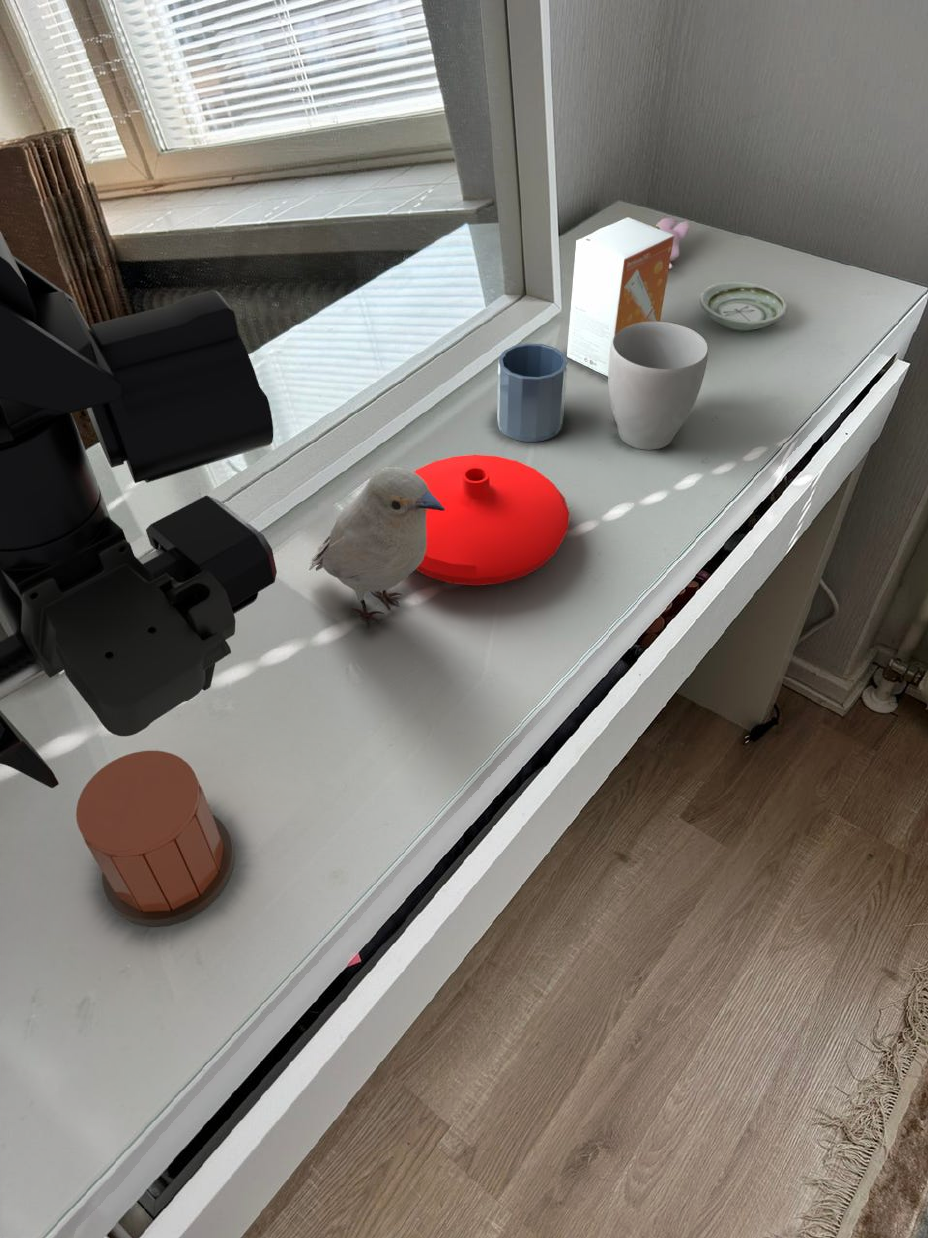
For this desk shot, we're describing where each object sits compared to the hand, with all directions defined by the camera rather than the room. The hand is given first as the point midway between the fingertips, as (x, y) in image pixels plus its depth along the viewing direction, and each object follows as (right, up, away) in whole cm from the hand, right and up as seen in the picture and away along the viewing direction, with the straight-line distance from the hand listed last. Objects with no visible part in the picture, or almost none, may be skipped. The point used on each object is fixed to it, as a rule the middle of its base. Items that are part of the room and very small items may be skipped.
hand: (130, 731), depth 50 cm
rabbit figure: (+42, +50, +66) cm, 93 cm away
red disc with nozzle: (+19, +13, +30) cm, 38 cm away
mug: (+37, +25, +41) cm, 61 cm away
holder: (0, -10, +8) cm, 13 cm away
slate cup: (+25, +26, +42) cm, 55 cm away
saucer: (+50, +40, +56) cm, 85 cm away
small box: (+34, +35, +51) cm, 71 cm away
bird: (+11, +7, +24) cm, 27 cm away
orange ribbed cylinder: (0, -9, +8) cm, 12 cm away
